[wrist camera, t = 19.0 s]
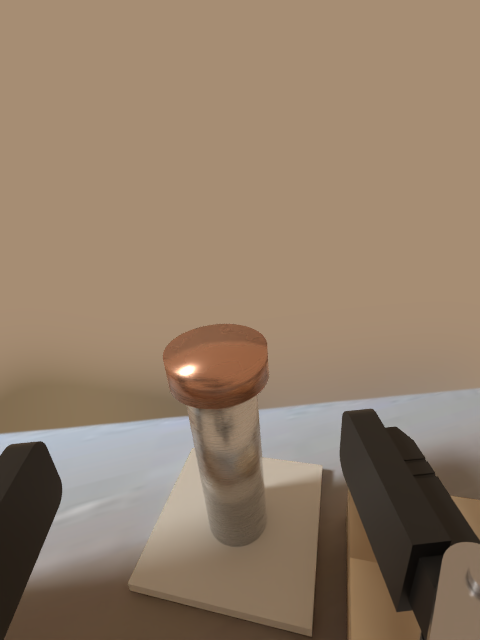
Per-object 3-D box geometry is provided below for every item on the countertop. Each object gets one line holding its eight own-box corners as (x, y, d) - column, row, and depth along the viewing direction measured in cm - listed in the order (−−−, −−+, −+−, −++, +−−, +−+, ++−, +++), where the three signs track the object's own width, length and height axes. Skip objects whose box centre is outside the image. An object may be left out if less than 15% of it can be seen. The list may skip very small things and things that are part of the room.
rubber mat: (130, 590, 24) (127, 583, 24) (193, 454, 35) (192, 448, 34) (311, 636, 21) (311, 629, 21) (322, 472, 32) (322, 465, 31)
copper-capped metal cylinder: (186, 549, 26) (144, 373, 19) (212, 479, 31) (186, 322, 24) (270, 567, 24) (254, 382, 18) (283, 490, 29) (275, 325, 23)
